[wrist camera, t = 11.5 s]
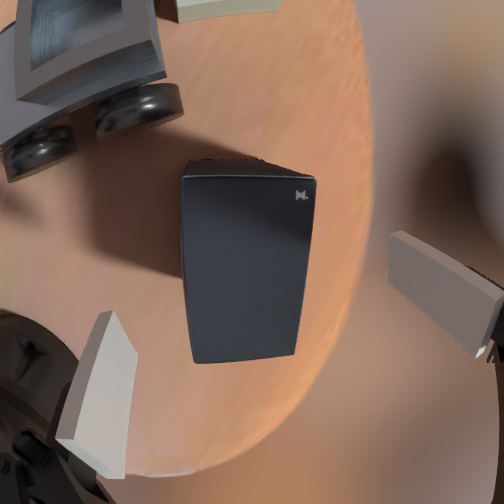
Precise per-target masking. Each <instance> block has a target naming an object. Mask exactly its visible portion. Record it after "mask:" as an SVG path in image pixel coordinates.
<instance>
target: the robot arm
mask: <svg viewBox="0 0 504 504" xmlns="http://www.w3.org/2000/svg"><path fill="white" fill-rule="evenodd" d="M389 283H390V284H391V285H392V286H393V287H395V288H396V289H397V290H398V291H399V292H400V293H402V294H403V295H404V296H405V297H407V298H408V299H409V300H410V301H411V302H413V303H414V304H415V305H416V306H417V307H418V308H420V309H421V310H422V311H423V312H424V313H426V315H428V316H429V317H430V318H431V319H432V320H433V321H434V322H436V323H437V324H438V325H439V326H440V327H441V328H442V329H444V330H445V331H446V332H447V333H448V334H449V335H450V336H451V337H452V338H453V339H454V340H456V341H457V342H458V343H459V344H460V345H461V346H462V347H463V348H464V349H465V350H466V351H467V352H468V353H470V355H472V356H473V357H474V358H477V357H478V356H479V355H480V354H481V353H483V352H484V351H485V350H486V348H487V346H488V343H489V341H490V338H491V339H492V340H493V341H494V344H493V346H492V349H491V351H490V353H489V356H488V358H487V363H489V361H490V359H491V357H492V356H493V355H494V358H493V361H492V363H495V369H496V377H497V387H498V399H499V427H500V428H499V429H500V430H499V455H498V467H497V476H496V485H495V491H494V496H493V501H492V503H491V504H504V288H503V287H501V286H500V285H498V284H496V283H495V282H494V281H492V280H490V279H489V278H488V279H487V277H486V276H484V275H482V274H480V273H479V272H478V271H476V270H474V269H473V268H471V267H468V266H465V265H462V264H461V263H459V262H457V261H456V260H454V259H452V258H450V257H449V256H447V255H445V254H443V253H442V252H440V251H438V250H436V249H434V248H433V247H431V246H429V245H427V244H426V243H424V242H422V241H420V240H418V239H416V238H414V237H413V236H411V235H409V234H407V233H405V232H403V231H398V232H395V233H392V234H390V261H389ZM137 360H138V354H137V353H136V351H135V349H134V348H133V346H132V344H131V342H130V341H129V339H128V337H127V335H126V333H125V331H124V330H123V328H122V326H121V324H120V322H119V320H118V318H117V316H116V314H115V312H114V310H112V311H108V312H104V313H100V314H99V315H98V318H97V320H96V322H95V325H94V327H93V329H92V332H91V334H90V336H89V339H88V341H87V344H86V346H85V349H84V351H83V354H82V356H81V359H80V361H78V360H77V358H76V357H75V356H74V354H73V353H72V352H71V351H70V350H69V349H68V348H67V347H66V346H65V345H64V344H63V343H62V342H61V341H60V340H59V339H58V338H57V337H55V336H54V335H53V334H52V333H50V332H49V331H47V330H46V329H45V328H43V327H41V326H40V325H38V324H36V323H34V322H32V321H30V320H28V319H25V318H22V317H19V316H14V315H4V316H1V317H0V504H116V503H115V501H114V500H113V499H112V497H111V496H110V495H109V494H108V492H107V491H106V490H105V488H104V487H103V485H102V484H101V483H100V482H99V481H98V480H97V479H96V472H98V473H99V474H101V475H102V476H104V477H105V478H109V479H124V478H125V460H126V446H127V435H128V425H129V416H130V407H131V400H132V392H133V385H134V379H135V372H136V366H137Z"/></svg>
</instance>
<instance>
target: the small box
mask: <svg viewBox="0 0 504 504" xmlns="http://www.w3.org/2000/svg"><path fill="white" fill-rule="evenodd" d="M316 187H317V180H316V179H315V177H314V176H311V175H306V174H301V173H298V172H295V171H292V170H290V169H286V168H283V167H280V166H278V165H275V164H270V163H267V162H265V161H264V160H262V159H261V160H258V159H256V160H246V159H245V160H223V159H222V160H213V159H205V160H204V159H203V160H195V161H189V162H188V164H187V167H186V170H185V172H184V174H183V176H182V178H181V188H180V244H181V269H182V279H183V288H184V298H185V307H186V316H187V323H188V331H189V338H190V344H191V350H192V355H193V361H194V363H195V364H211V363H226V362H237V361H247V360H257V359H266V358H273V357H281V356H289V355H294V353H295V348H296V342H297V337H298V331H299V325H300V318H301V312H302V306H303V299H304V293H305V286H306V278H307V270H308V263H309V254H310V247H311V237H312V229H313V219H314V209H315V198H316Z"/></svg>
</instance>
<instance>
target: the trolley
mask: <svg viewBox="0 0 504 504" xmlns="http://www.w3.org/2000/svg"><path fill="white" fill-rule="evenodd" d="M160 2H161V0H18V4H17V12H16V21H14V22H12V23H11V24H9V25H8V26H7V27H6V28H4V29H3V30H2V31H1V32H0V152H2V151H3V150H5V149H6V148H8V147H9V146H11V145H13V144H14V143H16V142H17V143H16V144H14V145H13V146H11V147H10V148H8V149H7V150H6V151H5V152H4V153H3V155H2V158H3V163H4V168H5V172H6V176H7V180H8V183H13V182H16V181H19V180H22V179H24V178H27V177H29V176H32V175H34V174H36V173H39V172H41V171H43V170H46V169H48V168H50V167H52V166H54V165H57V164H59V163H61V162H63V161H65V160H67V159H69V158H71V157H73V156H74V155H76V154H77V153H78V148H77V143H76V139H75V134H74V129H73V126H71V125H63V126H57V127H53V128H49V129H46V130H43V126H45V125H47V124H49V123H51V122H53V121H55V120H56V119H58V118H60V117H63V116H65V115H67V114H69V113H71V112H73V111H75V110H77V109H80V108H82V107H84V106H86V105H89V104H91V103H93V102H96V101H98V100H101V99H103V98H106V97H108V96H111V95H114V94H117V95H114V96H112V97H110V98H108V99H106V100H104V101H102V102H101V103H99V104H98V105H97V106H95V107H94V108H93V110H92V117H93V122H94V127H95V131H96V136H97V140H98V141H105V140H110V139H114V138H118V137H122V136H126V135H129V134H133V133H136V132H139V131H143V130H146V129H149V128H152V127H155V126H158V125H161V124H164V123H167V122H170V121H172V120H175V119H177V118H179V117H181V116H183V115H184V110H183V106H182V101H181V97H180V92H179V87H178V85H176V84H172V83H160V84H152V85H146V86H143V84H146V83H149V82H153V81H156V80H160V79H163V78H167V74H166V69H165V64H164V59H163V54H162V48H161V43H160V37H159V32H158V26H157V20H156V14H155V8H156V7H157V6H158V5H159V4H160Z"/></svg>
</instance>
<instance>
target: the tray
mask: <svg viewBox="0 0 504 504" xmlns="http://www.w3.org/2000/svg"><path fill="white" fill-rule="evenodd" d="M174 1H175V6H176V11H177V16H178V22H179V23H183V22H188V21H193V20H199V19H205V18H211V17H218V16H226V15H234V14H245V13H260V12H276V10H277V9H278V8H279V6H280V5H281V4H282V2H283V1H284V0H174Z"/></svg>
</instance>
